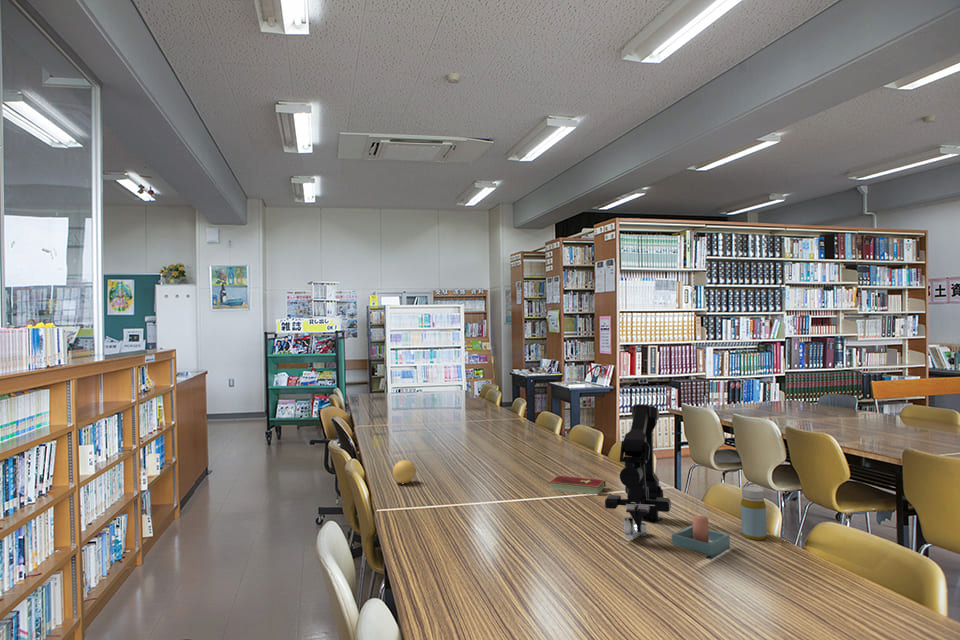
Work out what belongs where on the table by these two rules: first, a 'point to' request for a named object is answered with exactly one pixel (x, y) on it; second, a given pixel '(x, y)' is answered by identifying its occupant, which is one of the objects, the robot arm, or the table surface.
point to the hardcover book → (577, 484)
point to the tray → (713, 549)
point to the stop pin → (700, 528)
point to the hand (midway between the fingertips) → (639, 532)
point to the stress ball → (404, 471)
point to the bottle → (753, 513)
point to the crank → (633, 528)
